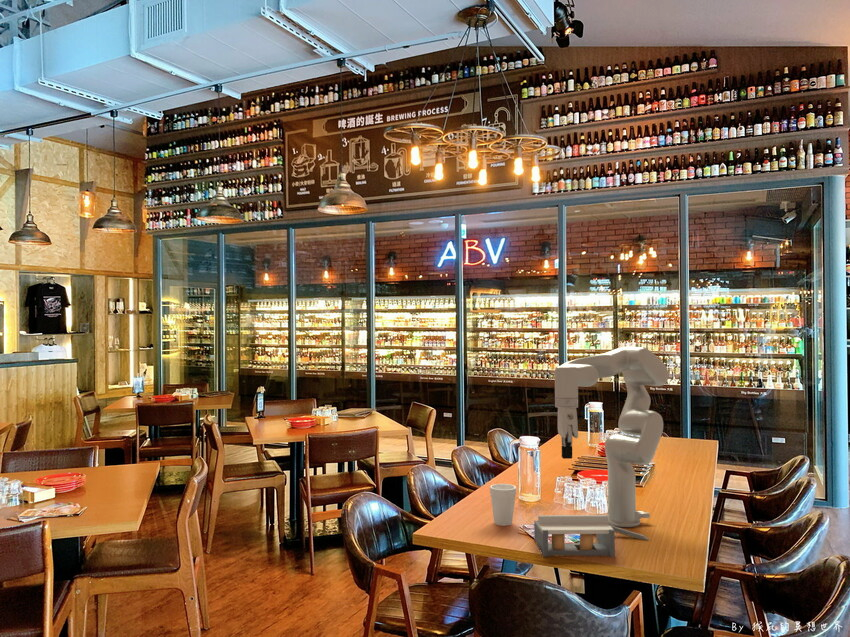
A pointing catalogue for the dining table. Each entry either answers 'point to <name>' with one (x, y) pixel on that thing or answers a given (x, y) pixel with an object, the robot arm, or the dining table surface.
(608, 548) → the housing
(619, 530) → the caliper
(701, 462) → the dining table surface
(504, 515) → the foam cup
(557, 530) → the lid
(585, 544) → the peg
